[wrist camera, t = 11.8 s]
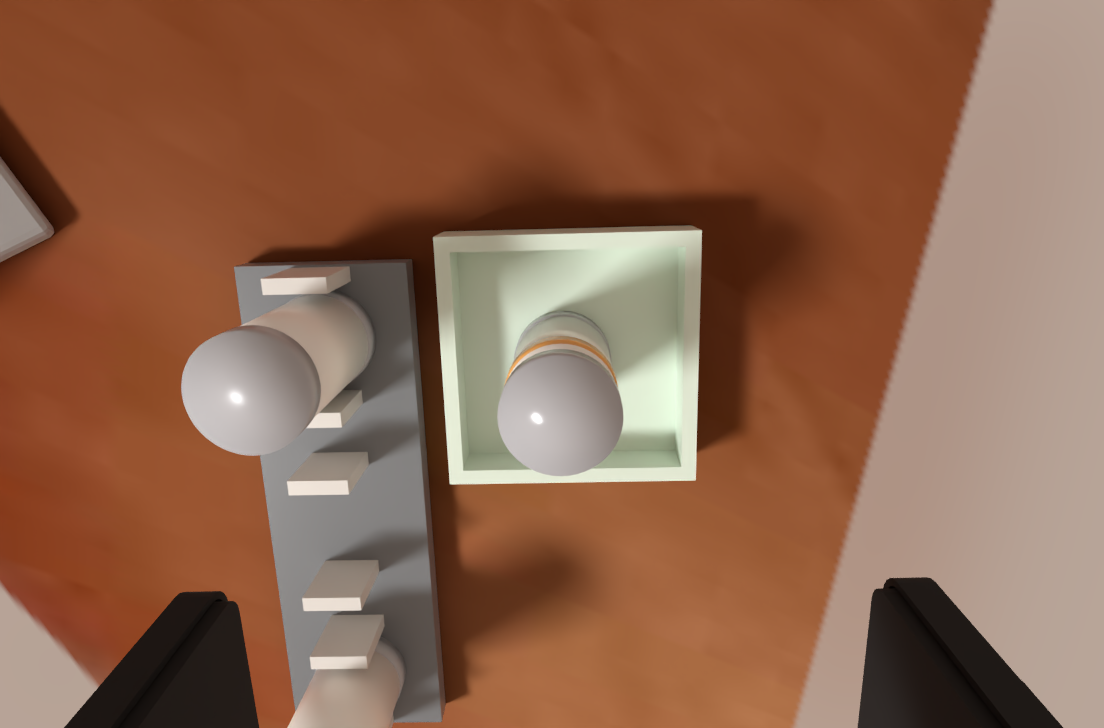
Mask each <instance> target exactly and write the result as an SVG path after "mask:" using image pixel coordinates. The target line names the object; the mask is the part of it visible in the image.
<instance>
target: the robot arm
mask: <svg viewBox="0 0 1104 728" xmlns="http://www.w3.org/2000/svg"><path fill="white" fill-rule="evenodd" d="M64 728H259V724H258V719H257V713H256V707H255V701H254V695H253V689H252V683H251V677H250V671H249V665H248V659H247V654H246V648H245V642H244V636H243V630H242V624H241V618H240V612H239V608H238V605H237V604H236V602H234V601H228V600H227V597H226V596H225V594H224V593H223V592H221V591H213V592H183V593H180V594H178V595H177V596H176V597H175V598H174V599H173V601H172V602H171V603H170V604H169V605H168V606H167V608H166V609H165V610H164V611H163V612H162V613H161V615H160V616H159V617H158V618H157V619H156V620H155V622H154V623H153V624H152V625H151V626H150V628H149V629H148V630H147V631H146V632H145V633H144V635H143V636H142V637H141V638H140V639H139V640H138V642H137V643H136V644H135V645H134V646H133V647H132V649H131V650H130V651H129V652H128V653H127V655H126V656H125V657H124V658H123V659H122V660H121V662H120V663H119V664H118V665H117V666H116V667H115V669H114V670H113V671H112V672H111V673H110V675H109V676H108V677H107V678H106V679H105V680H104V682H103V683H102V684H101V685H100V686H99V687H98V689H97V690H96V691H95V692H94V693H93V695H92V696H91V697H90V698H89V699H88V700H87V702H86V703H85V704H84V705H83V706H82V708H81V709H80V710H79V711H78V712H77V713H76V714H75V716H74V717H73V718H72V719H71V720H70V721H69V723H68V724H67V725H66V726H65V727H64ZM858 728H1063V727H1062V726H1061V725H1060V723H1059V722H1058V721H1057V720H1056V719H1055V718H1054V717H1053V715H1051V713H1050V712H1049V711H1048V710H1047V709H1046V707H1045V706H1044V705H1043V704H1042V703H1041V702H1040V701H1039V699H1038V698H1037V697H1036V696H1035V695H1034V694H1033V693H1032V691H1031V690H1030V689H1029V688H1028V687H1027V686H1026V684H1025V683H1024V682H1023V681H1021V680H1020V679H1019V678H1018V676H1017V675H1016V674H1015V673H1014V672H1013V671H1012V669H1011V668H1010V667H1009V666H1008V665H1007V664H1006V663H1005V661H1004V660H1003V659H1002V658H1001V657H1000V656H999V654H998V653H997V652H996V651H995V650H994V649H993V648H992V646H991V645H990V644H989V643H988V642H987V641H986V640H985V638H984V637H983V636H982V635H981V634H980V633H979V632H978V630H977V629H976V628H975V627H974V626H973V625H972V624H971V622H970V621H969V620H968V619H967V618H966V617H965V615H964V614H963V613H962V612H961V611H960V610H959V609H958V608H957V606H956V605H955V604H954V603H953V602H952V601H951V599H950V598H949V597H948V596H947V595H946V594H945V593H944V591H943V590H942V589H941V588H940V587H939V586H938V584H937V583H936V582H934V581H933V580H932V579H931V578H890V579H888V580H886V583H885V584H884V588H883V589H876V590H875V591H874V592H873V596H872V601H871V611H870V620H869V629H868V638H867V647H866V656H865V666H864V675H863V685H862V693H861V702H860V711H859V721H858Z"/></svg>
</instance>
